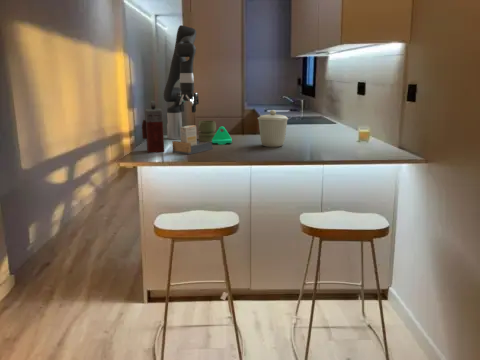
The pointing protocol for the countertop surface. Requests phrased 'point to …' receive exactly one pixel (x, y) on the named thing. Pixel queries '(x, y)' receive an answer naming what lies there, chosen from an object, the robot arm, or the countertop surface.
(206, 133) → the piston
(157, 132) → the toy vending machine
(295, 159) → the countertop surface
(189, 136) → the supplement box
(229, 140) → the camera mount
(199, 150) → the rail
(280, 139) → the canister
